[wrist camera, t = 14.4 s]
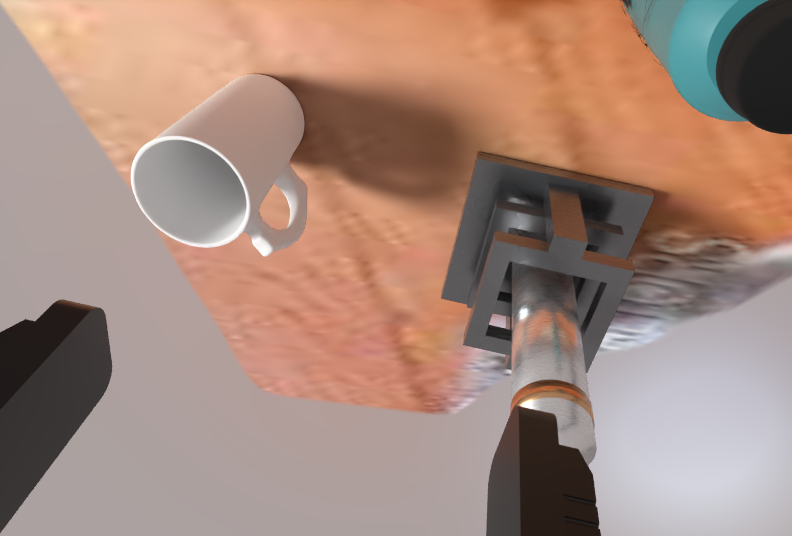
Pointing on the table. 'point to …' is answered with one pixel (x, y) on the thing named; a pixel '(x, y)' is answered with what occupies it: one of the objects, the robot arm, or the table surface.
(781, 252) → the table surface
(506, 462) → the robot arm
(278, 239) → the mug
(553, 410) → the steel tube
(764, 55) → the beverage bottle
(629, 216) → the collar stand
